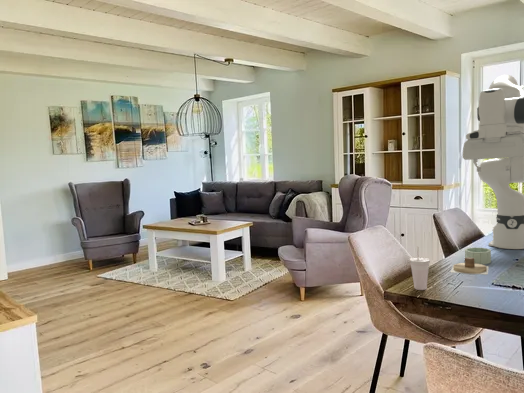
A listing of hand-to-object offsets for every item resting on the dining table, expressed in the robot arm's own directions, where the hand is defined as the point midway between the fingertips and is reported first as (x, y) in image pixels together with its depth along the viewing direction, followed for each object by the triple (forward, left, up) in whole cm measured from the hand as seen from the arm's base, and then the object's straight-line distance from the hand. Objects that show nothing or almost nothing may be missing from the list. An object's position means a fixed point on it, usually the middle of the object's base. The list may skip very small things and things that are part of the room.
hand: (493, 171), depth 164 cm
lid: (+9, -8, -35) cm, 37 cm away
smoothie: (+35, -21, -36) cm, 54 cm away
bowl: (-4, -6, -36) cm, 36 cm away
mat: (+9, -8, -36) cm, 38 cm away
